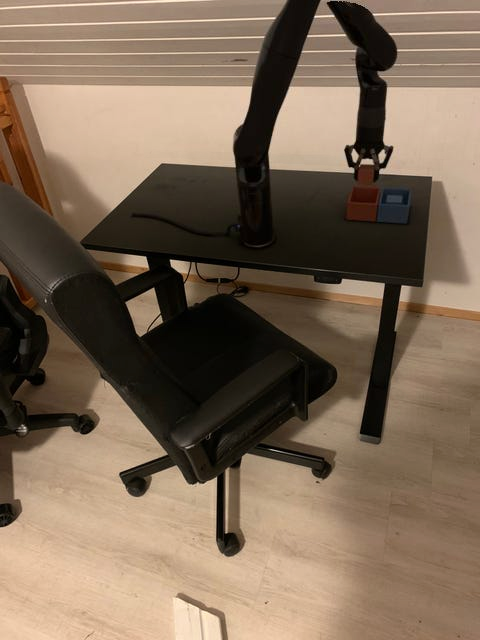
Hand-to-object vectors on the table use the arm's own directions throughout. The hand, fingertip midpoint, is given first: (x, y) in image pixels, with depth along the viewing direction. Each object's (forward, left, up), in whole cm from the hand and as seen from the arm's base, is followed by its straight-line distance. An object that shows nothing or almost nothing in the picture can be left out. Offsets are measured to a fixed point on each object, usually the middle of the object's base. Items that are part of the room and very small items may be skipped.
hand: (366, 180), depth 138 cm
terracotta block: (0, 0, 0) cm, 0 cm away
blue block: (+9, 0, -10) cm, 13 cm away
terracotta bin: (0, 0, -10) cm, 10 cm away
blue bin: (+9, 0, -10) cm, 14 cm away
